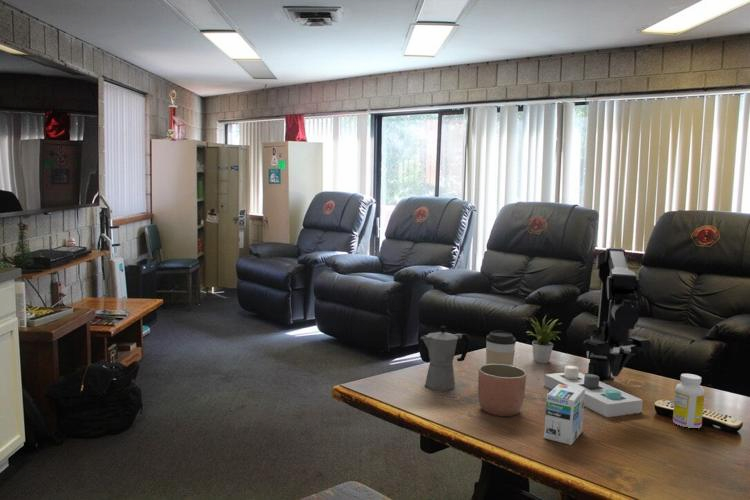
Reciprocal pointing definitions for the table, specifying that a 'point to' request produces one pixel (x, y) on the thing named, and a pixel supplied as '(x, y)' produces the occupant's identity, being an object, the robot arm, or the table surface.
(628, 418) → the table surface
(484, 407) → the planter
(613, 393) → the key teal
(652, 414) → the table surface
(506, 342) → the coffee cup
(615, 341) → the robot arm
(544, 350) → the house plant
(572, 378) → the key ivory
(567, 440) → the light bulb box
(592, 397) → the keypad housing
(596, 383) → the key charcoal
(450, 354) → the coffeepot
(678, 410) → the supplement bottle
